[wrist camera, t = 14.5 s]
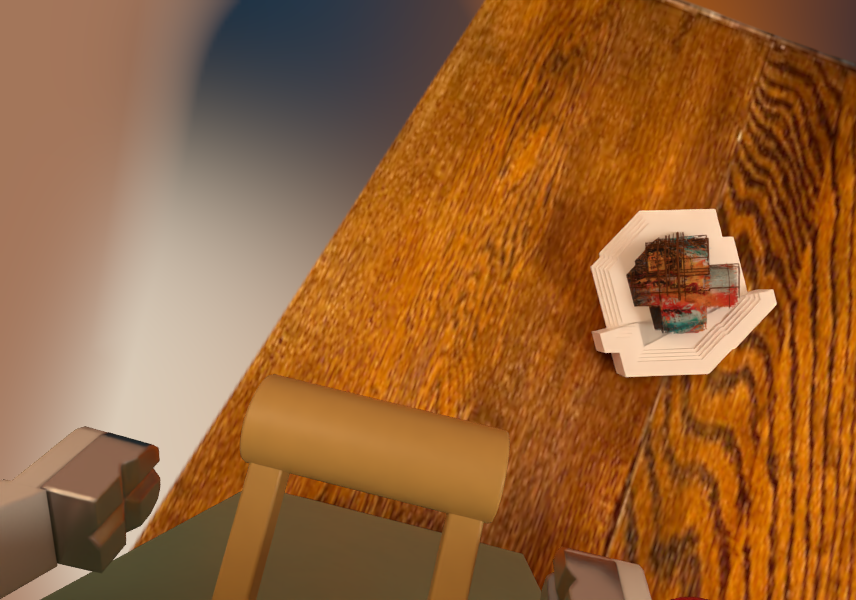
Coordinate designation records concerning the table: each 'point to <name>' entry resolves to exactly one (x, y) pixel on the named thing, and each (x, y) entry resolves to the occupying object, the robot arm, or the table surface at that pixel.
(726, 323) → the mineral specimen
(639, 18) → the table surface
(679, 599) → the strawberry
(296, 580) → the chest lid
